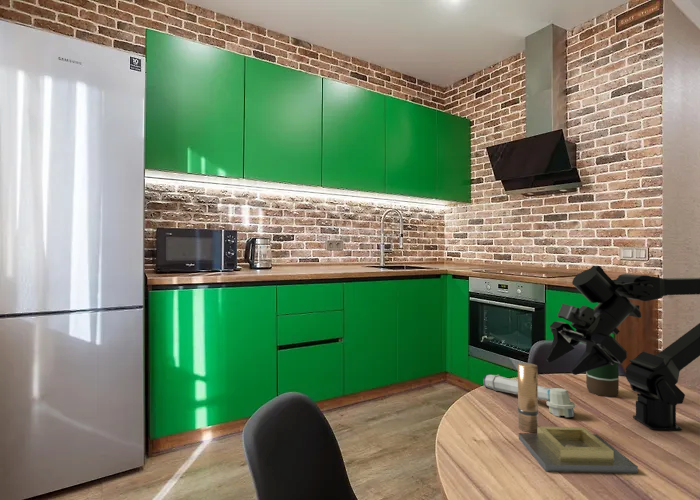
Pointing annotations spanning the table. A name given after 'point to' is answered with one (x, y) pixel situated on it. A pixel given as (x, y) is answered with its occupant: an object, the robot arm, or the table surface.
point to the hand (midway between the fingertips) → (559, 366)
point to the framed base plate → (574, 451)
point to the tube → (528, 397)
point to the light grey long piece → (555, 396)
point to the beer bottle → (603, 380)
